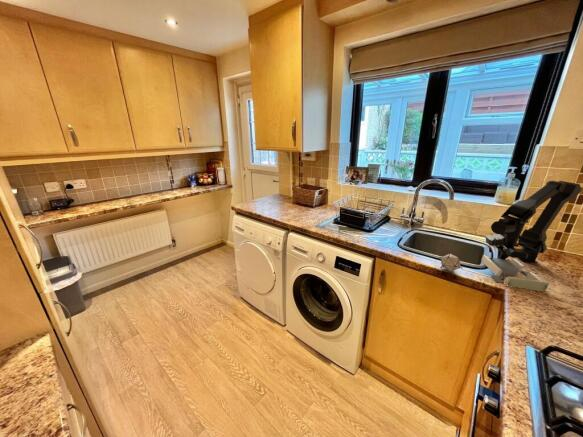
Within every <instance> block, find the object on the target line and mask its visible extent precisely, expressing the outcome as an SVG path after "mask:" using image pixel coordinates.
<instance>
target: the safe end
mask: <svg viewBox="0 0 583 437" xmlns="http://www.w3.org/2000/svg"><path fill="white" fill-rule="evenodd" d="M507 277H508V278H507V281H508V280H509V282H508V283H511V284H510V285H509V284H507V281H506V285H508V286H512V287H511V288H516V287H518V288H517V289H523V288H526V289H525V290H531V291H539V292H544V291H543V289H544V290H545V289H546V290H547V288H548V287H547V288H543V287H545V286H544V285H548V286H549V285H550V283H549V281H546V280H542V281H540V280H532V279H527V278H522V277H516V276H515V277H514V276H509V275H508V276H507ZM506 285H505V286H506ZM508 286H507V287H508ZM546 290H545V291H546Z"/></svg>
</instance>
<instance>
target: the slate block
mask: <svg viewBox="0 0 583 437" xmlns="http://www.w3.org/2000/svg"><path fill="white" fill-rule="evenodd" d="M491 261H492V262H493V263H494V264H495V265H497V266H498V267H499V268H500V269H501V270H502V273H501V274H504V275H512V276H517V275H518V273H519V272H520V271H519V269H520V268H519V267H517V266H516V265H515V264H514V263H513V262H511V261H512V260H510V259H498V258H497V257H496V258H492V259H491Z"/></svg>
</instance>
